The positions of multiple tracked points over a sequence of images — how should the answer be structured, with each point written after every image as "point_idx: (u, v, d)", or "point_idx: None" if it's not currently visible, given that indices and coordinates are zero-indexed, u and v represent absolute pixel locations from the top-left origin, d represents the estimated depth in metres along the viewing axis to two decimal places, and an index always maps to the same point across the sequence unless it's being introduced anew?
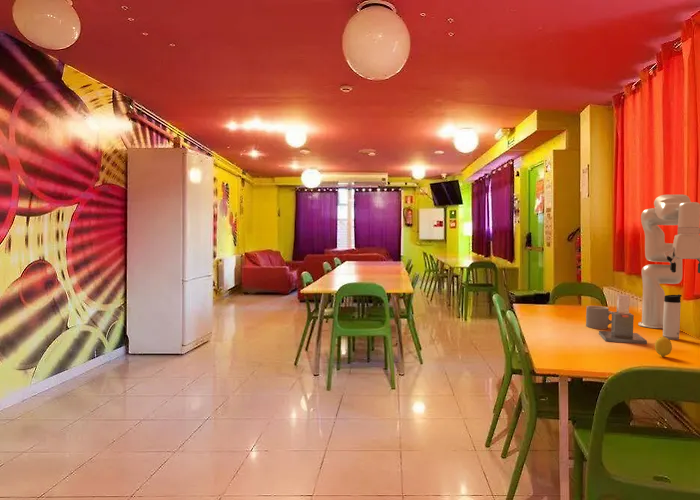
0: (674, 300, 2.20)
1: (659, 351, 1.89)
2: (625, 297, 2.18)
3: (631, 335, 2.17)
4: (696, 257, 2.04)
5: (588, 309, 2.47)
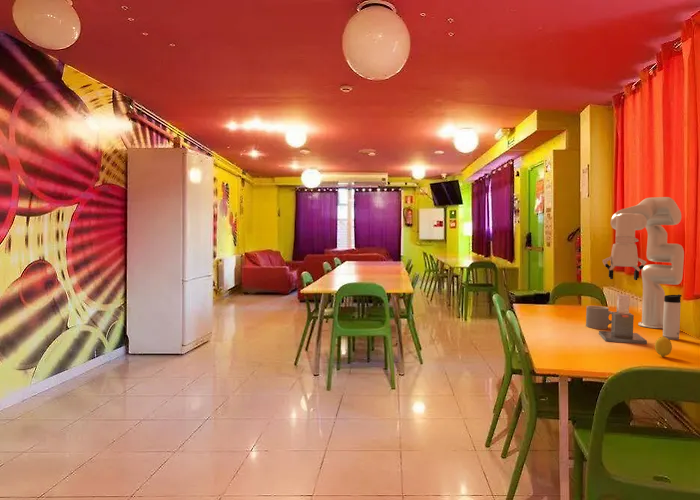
0: (674, 300, 2.20)
1: (659, 351, 1.89)
2: (625, 297, 2.18)
3: (631, 335, 2.17)
4: (632, 265, 2.17)
5: (588, 309, 2.47)
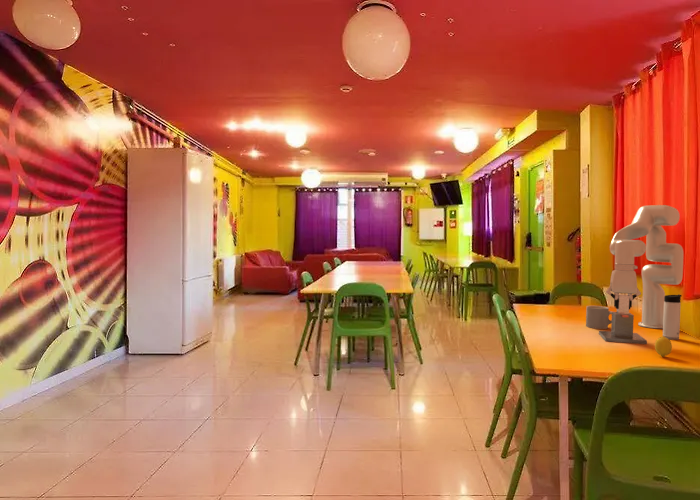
0: (674, 300, 2.20)
1: (659, 351, 1.89)
2: (625, 297, 2.18)
3: (631, 335, 2.17)
4: (631, 292, 2.18)
5: (588, 309, 2.47)
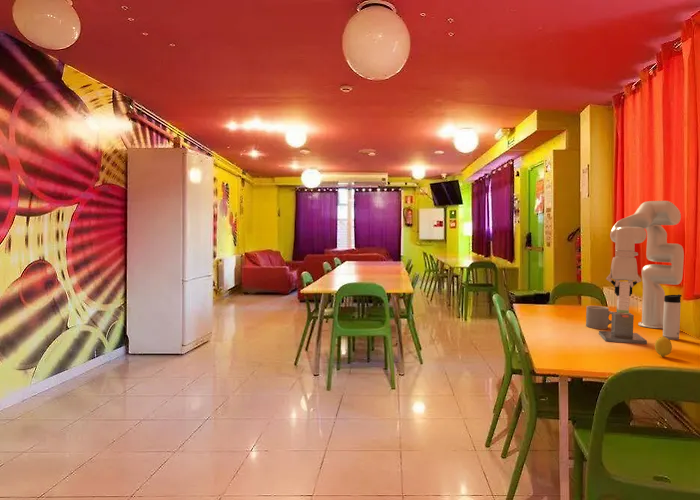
0: (674, 300, 2.20)
1: (659, 351, 1.89)
2: (625, 284, 2.18)
3: (631, 335, 2.17)
4: (631, 279, 2.17)
5: (588, 309, 2.47)
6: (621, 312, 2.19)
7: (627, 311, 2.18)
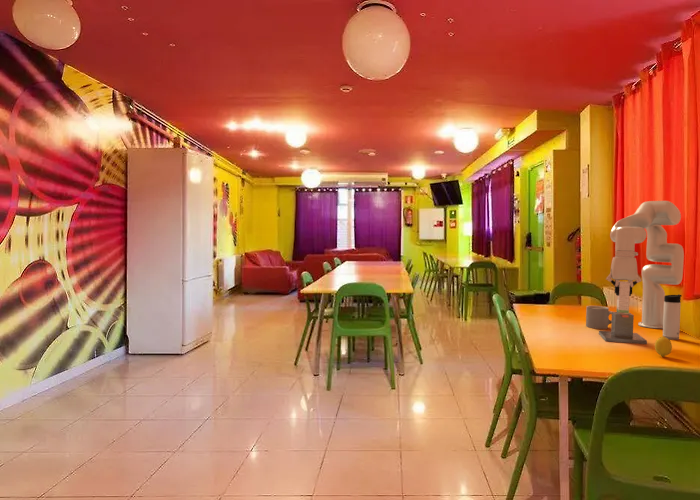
0: (674, 300, 2.20)
1: (659, 351, 1.89)
2: (625, 284, 2.18)
3: (631, 335, 2.17)
4: (631, 279, 2.17)
5: (588, 309, 2.47)
6: (621, 312, 2.19)
7: (627, 311, 2.18)
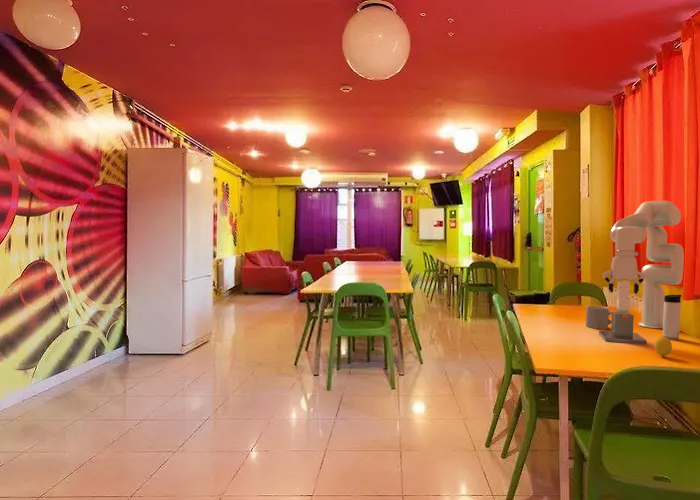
0: (674, 300, 2.20)
1: (659, 351, 1.89)
2: (625, 284, 2.18)
3: (631, 335, 2.17)
4: (631, 279, 2.17)
5: (588, 309, 2.47)
6: (621, 312, 2.19)
7: (627, 311, 2.18)
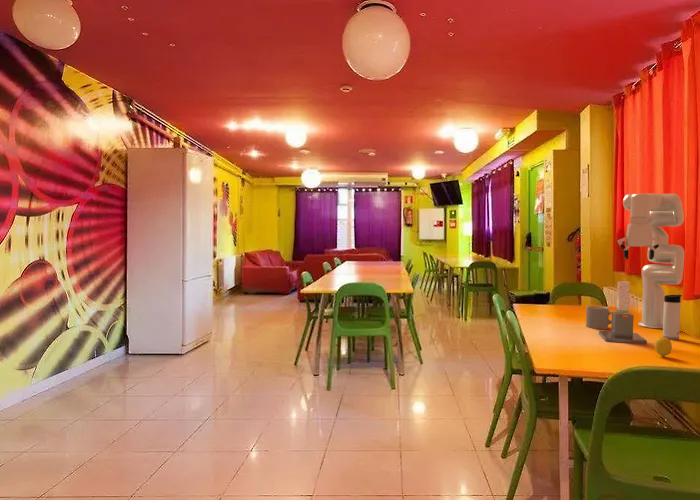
0: (674, 300, 2.20)
1: (659, 351, 1.89)
2: (625, 284, 2.18)
3: (631, 335, 2.17)
4: (647, 245, 2.20)
5: (588, 309, 2.47)
6: (621, 312, 2.19)
7: (627, 311, 2.18)
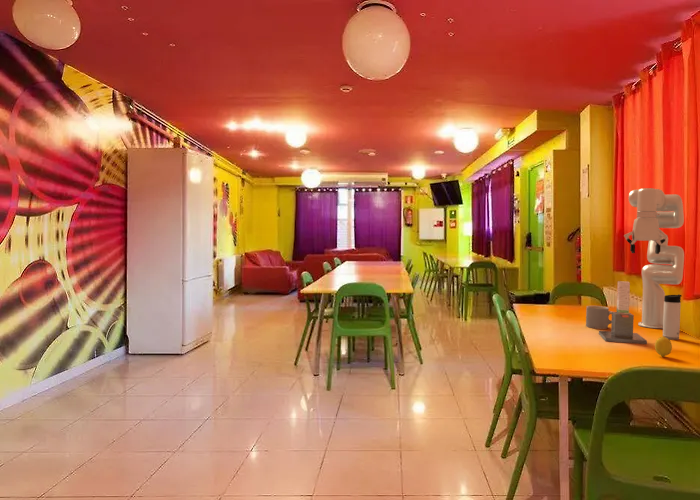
0: (674, 300, 2.20)
1: (659, 351, 1.89)
2: (625, 284, 2.18)
3: (631, 335, 2.17)
4: (653, 239, 2.21)
5: (588, 309, 2.47)
6: (621, 312, 2.19)
7: (627, 311, 2.18)
